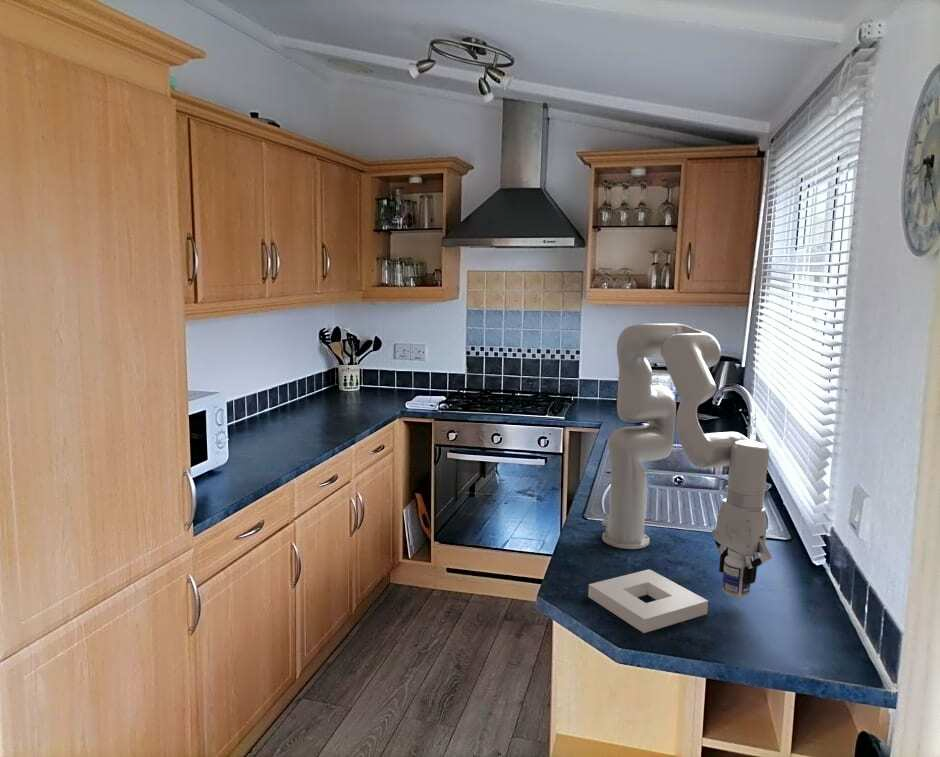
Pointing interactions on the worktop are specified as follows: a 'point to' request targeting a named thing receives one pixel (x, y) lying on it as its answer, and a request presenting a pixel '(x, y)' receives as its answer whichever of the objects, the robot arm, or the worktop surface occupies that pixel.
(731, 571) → the pill bottle
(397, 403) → the worktop surface
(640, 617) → the socket block
